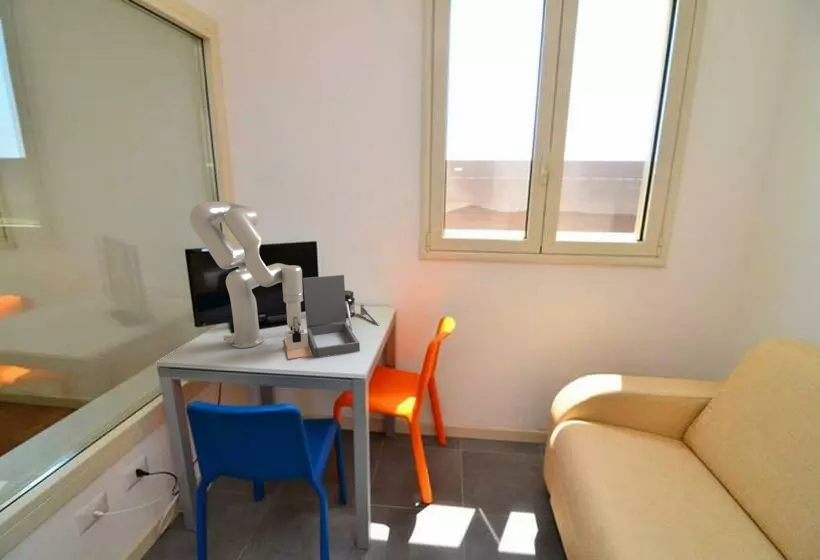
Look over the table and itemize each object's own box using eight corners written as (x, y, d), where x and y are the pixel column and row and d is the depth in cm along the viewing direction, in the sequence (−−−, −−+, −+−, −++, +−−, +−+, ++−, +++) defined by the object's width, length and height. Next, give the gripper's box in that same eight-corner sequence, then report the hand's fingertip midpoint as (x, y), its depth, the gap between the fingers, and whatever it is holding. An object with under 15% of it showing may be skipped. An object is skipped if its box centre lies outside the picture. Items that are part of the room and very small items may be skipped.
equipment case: (315, 357, 153) (310, 293, 147) (307, 334, 177) (303, 278, 171) (362, 350, 159) (360, 288, 153) (348, 328, 183) (346, 274, 177)
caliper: (360, 314, 204) (360, 302, 202) (362, 314, 204) (362, 302, 203) (378, 326, 187) (377, 313, 185) (380, 325, 187) (379, 313, 186)
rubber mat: (288, 360, 151) (288, 358, 151) (284, 339, 171) (284, 338, 171) (312, 356, 154) (312, 354, 154) (306, 336, 174) (306, 335, 174)
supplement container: (329, 316, 201) (328, 293, 198) (345, 311, 209) (344, 288, 206) (343, 320, 194) (342, 296, 191) (359, 315, 202) (358, 292, 199)
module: (287, 349, 159) (286, 335, 157) (286, 345, 163) (285, 331, 162) (308, 346, 161) (307, 332, 160) (306, 342, 166) (305, 328, 165)
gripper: (282, 292, 164) (284, 331, 168) (284, 304, 148) (287, 347, 152) (300, 290, 167) (303, 329, 171) (305, 302, 151) (307, 344, 155)
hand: (295, 337), depth 162 cm, fingers open, 9 cm apart
